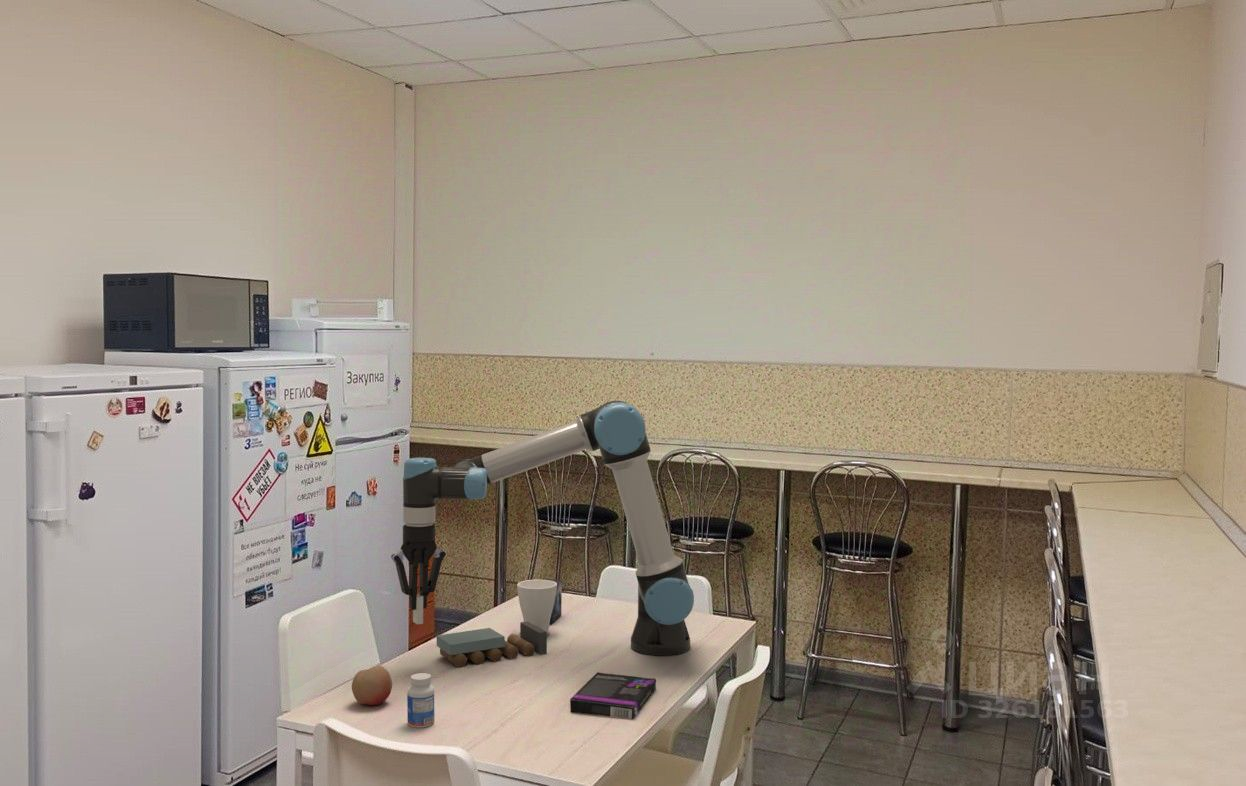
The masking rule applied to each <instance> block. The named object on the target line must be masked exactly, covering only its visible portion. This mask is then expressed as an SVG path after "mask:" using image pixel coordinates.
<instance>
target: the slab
mask: <svg viewBox="0 0 1246 786" xmlns="http://www.w3.org/2000/svg"><path fill="white" fill-rule="evenodd" d="M505 638H506V637H505V635H503V634H502V633H499V632H498V631H496V630H494V629H492V628H491V627H486V628H479V629H472V630H465V631H459V632H453V633H445V634H444V633H443V634H438V635H436V647H438V648H439V649H440V648H441V649H442V650H444V651H445V652H446V653H448V654H449V655H455V654H462V653H468V652H474V651H481V650H487V649H493V648H500V647H505V641H506V639H505Z"/></svg>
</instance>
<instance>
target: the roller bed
mask: <svg viewBox="0 0 1246 786" xmlns="http://www.w3.org/2000/svg"><path fill="white" fill-rule="evenodd" d="M519 652H520V653H522V654H524V655H525V656H527V657H529V656H530V657H531V656H533V655H534V653H536V652H535V646H534V645H533V644H531V643H529V642H528V641H526V640H524V639H522V638H521V637H520V636H519V635H518V634H515V633H511V634H509V635H508V637H507V638H506V640H505V647H500V648H493V649H487V650H481V651H474V652H468V653H462V654H455V655H449V654H448V653H446V652H445V651H444V650H442V649H441V648H439V654H440V655H441V656H442V657H444V658H445V659H446V660H448V661H449V662H451V663H452V664H453V665H455V666H456V667H458V668H463V667H465V666H466V664H467V662H468V660H469V661H470V662H472V663H473V664H476V665H480V664H483V662H484V660H485V657H486V658H488V659H489V660H490V661H491V662H492V661H493V662H499V661H500V660H501V658H502V656H503V655H504V656H506V657H507V658H509V659H511V660H512V659H516V658H517V657H518V655H519Z"/></svg>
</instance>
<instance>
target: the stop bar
mask: <svg viewBox="0 0 1246 786" xmlns="http://www.w3.org/2000/svg"><path fill="white" fill-rule="evenodd" d="M519 629H520V631H519V635H520V636H519V637H521V638H522V639H524V640H526V641H528V642H529V643H531V644H533V645H534V646H535V652H534V653H536V654H538V655H539V656H542V655H547V654H548V651H547V650H548V645H547V644H548V635H547V632H546V631H545V630H543V629H541V628H539V627H537V626H535V625H533V624H531V623H529V622H524V621H522V622H520V626H519Z"/></svg>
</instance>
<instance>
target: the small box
mask: <svg viewBox="0 0 1246 786" xmlns="http://www.w3.org/2000/svg"><path fill="white" fill-rule="evenodd" d="M540 580H550V581H554V582H556V583H557V590H556V597H555V602H554V607H553V610H552V614H551V618H550V623H549V626H550V625H553V624H554V623H555V622H556V621H558V619H559V618H560V617H561V616H562V603H563V601H562V600H563V599H562V593H563V591H562V590H563V588H562V587H563V585H562V584H563V580H562V579H555V578H554V579H553V578H552V579H551V578H545V577H544V578H541V579H540Z"/></svg>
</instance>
